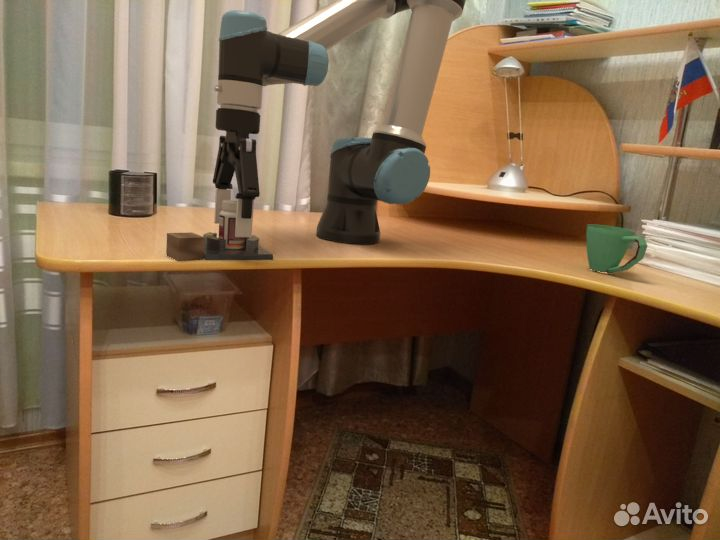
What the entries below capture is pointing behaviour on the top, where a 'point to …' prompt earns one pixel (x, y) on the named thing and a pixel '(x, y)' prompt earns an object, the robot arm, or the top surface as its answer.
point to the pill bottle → (229, 225)
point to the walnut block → (185, 246)
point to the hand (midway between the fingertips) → (231, 229)
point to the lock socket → (251, 250)
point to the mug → (611, 247)
